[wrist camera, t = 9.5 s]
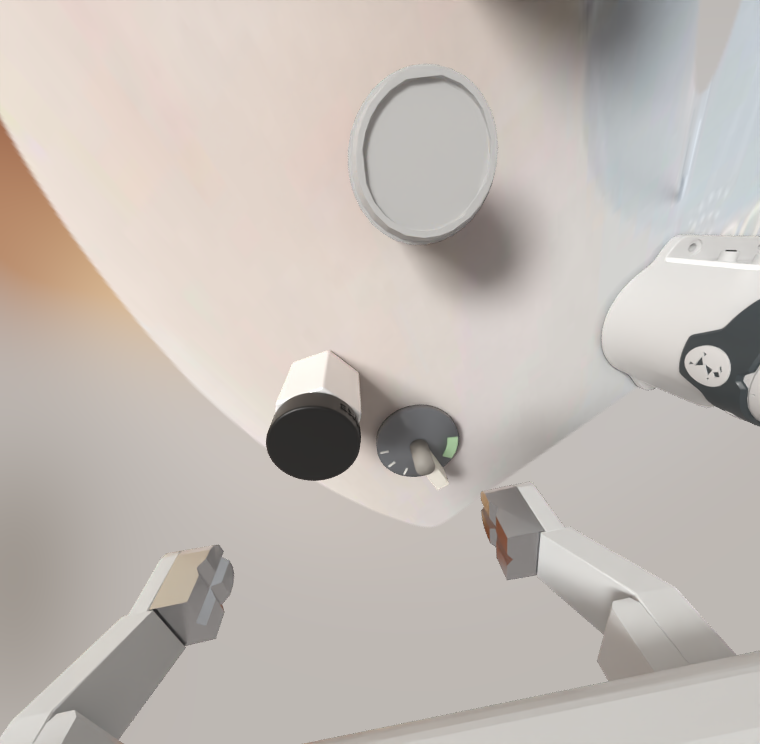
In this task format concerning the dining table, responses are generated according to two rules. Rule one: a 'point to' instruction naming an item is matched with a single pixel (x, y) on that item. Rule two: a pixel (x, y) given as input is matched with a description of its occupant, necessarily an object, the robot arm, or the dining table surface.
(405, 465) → the dial
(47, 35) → the dining table surface
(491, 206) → the dining table surface
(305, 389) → the jar
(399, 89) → the disposable coffee cup
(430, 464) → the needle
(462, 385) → the dining table surface
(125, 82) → the dining table surface
